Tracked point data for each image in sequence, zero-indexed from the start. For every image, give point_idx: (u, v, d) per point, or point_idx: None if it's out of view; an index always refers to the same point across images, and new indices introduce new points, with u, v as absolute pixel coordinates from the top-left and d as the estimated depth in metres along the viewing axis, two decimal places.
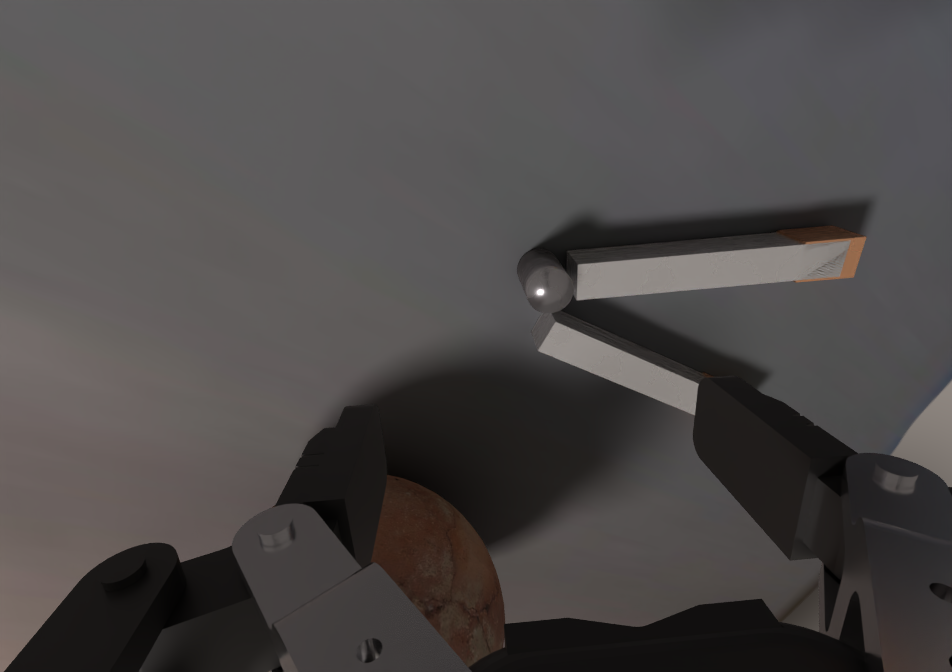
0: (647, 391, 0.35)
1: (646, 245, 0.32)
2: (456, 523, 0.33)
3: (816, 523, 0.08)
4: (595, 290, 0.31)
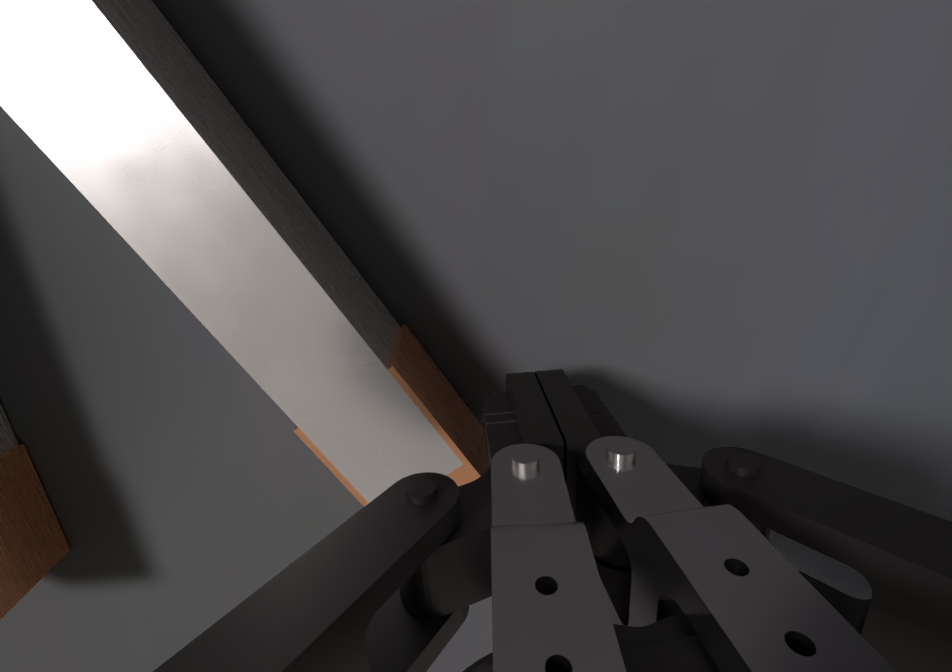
0: None
1: None
2: None
3: (578, 499, 0.09)
4: None
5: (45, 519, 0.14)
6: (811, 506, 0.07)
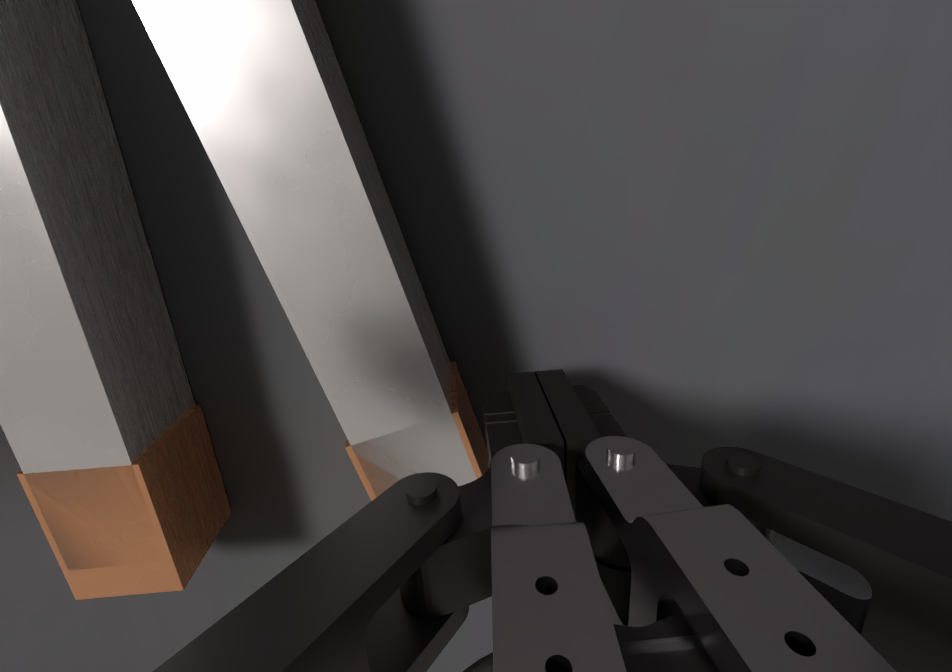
0: None
1: None
2: None
3: (577, 499, 0.09)
4: None
5: (215, 480, 0.14)
6: (811, 506, 0.07)
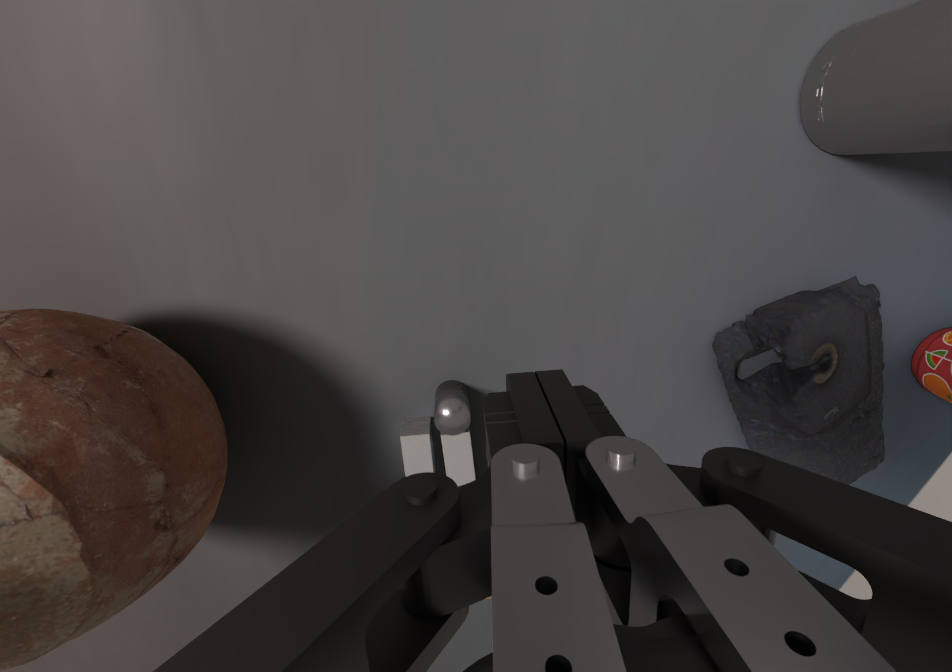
0: None
1: (474, 467, 0.44)
2: (224, 480, 0.34)
3: (578, 499, 0.09)
4: (449, 447, 0.40)
5: None
6: (811, 506, 0.07)
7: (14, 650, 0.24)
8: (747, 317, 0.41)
